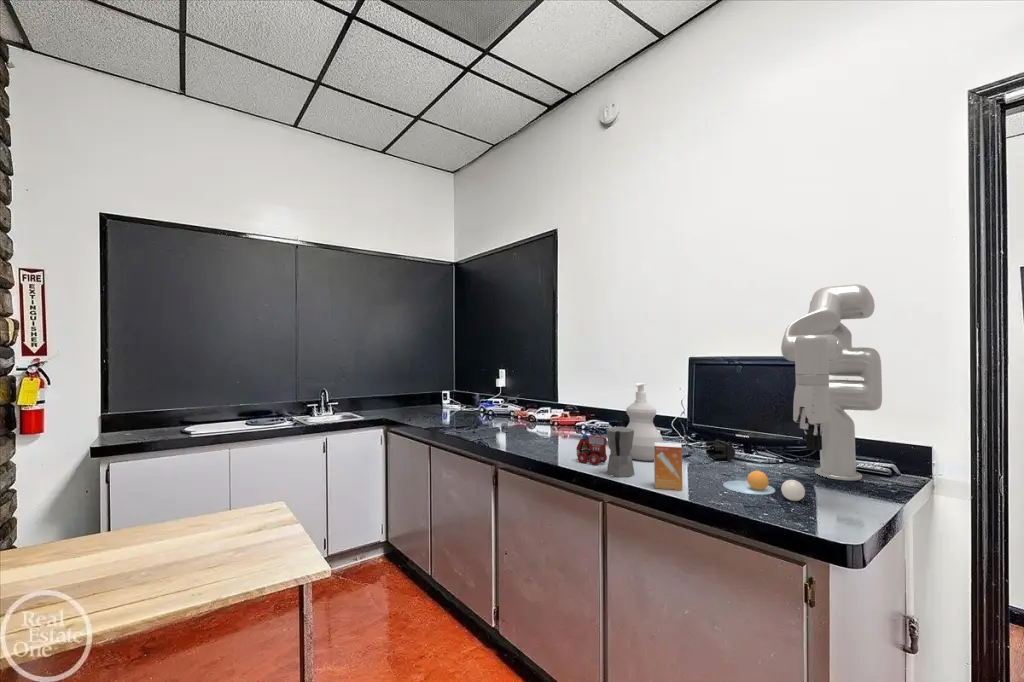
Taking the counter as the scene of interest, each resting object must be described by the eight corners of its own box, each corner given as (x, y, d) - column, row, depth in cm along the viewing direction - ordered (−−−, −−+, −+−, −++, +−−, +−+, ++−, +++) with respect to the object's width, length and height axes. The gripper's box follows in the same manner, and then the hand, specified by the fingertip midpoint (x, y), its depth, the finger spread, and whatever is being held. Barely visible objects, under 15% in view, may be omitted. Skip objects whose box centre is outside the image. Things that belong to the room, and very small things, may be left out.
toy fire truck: (582, 458, 178) (582, 431, 178) (611, 463, 170) (610, 435, 170) (572, 461, 172) (572, 434, 173) (601, 467, 164) (601, 438, 165)
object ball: (774, 489, 133) (757, 489, 138) (770, 469, 135) (753, 470, 139) (762, 491, 131) (745, 491, 135) (758, 471, 132) (741, 471, 137)
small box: (654, 488, 137) (653, 445, 138) (654, 483, 143) (653, 441, 144) (683, 491, 135) (682, 447, 135) (681, 485, 141) (681, 442, 141)
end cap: (735, 462, 169) (735, 444, 169) (716, 462, 169) (716, 444, 169) (723, 456, 179) (723, 439, 179) (705, 456, 179) (705, 439, 179)
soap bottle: (615, 458, 177) (614, 383, 177) (627, 453, 186) (626, 381, 186) (657, 464, 166) (656, 384, 167) (668, 459, 175) (667, 382, 176)
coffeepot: (609, 468, 162) (608, 417, 163) (636, 470, 159) (635, 418, 160) (602, 479, 148) (602, 424, 148) (632, 482, 144) (631, 425, 145)
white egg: (812, 486, 124) (803, 502, 126) (791, 473, 128) (783, 489, 130) (803, 491, 121) (794, 507, 123) (783, 477, 125) (774, 493, 127)
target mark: (741, 478, 147) (741, 478, 147) (785, 490, 135) (785, 489, 135) (713, 485, 140) (713, 484, 140) (756, 497, 128) (756, 496, 128)
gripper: (812, 379, 129) (814, 444, 128) (781, 381, 121) (783, 450, 121) (842, 380, 122) (844, 448, 122) (811, 382, 115) (813, 455, 114)
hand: (814, 449), depth 121 cm, fingers closed
